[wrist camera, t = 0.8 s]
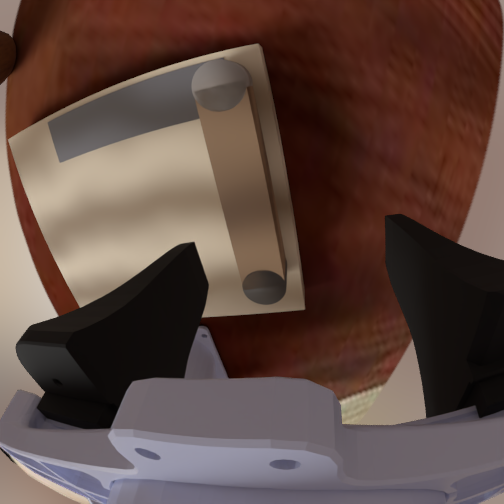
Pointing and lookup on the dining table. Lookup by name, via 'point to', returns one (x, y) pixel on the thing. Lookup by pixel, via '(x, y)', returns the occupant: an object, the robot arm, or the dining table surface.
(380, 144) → the dining table surface
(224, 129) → the walnut leg
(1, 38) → the wooden figurine
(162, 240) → the maple seat
